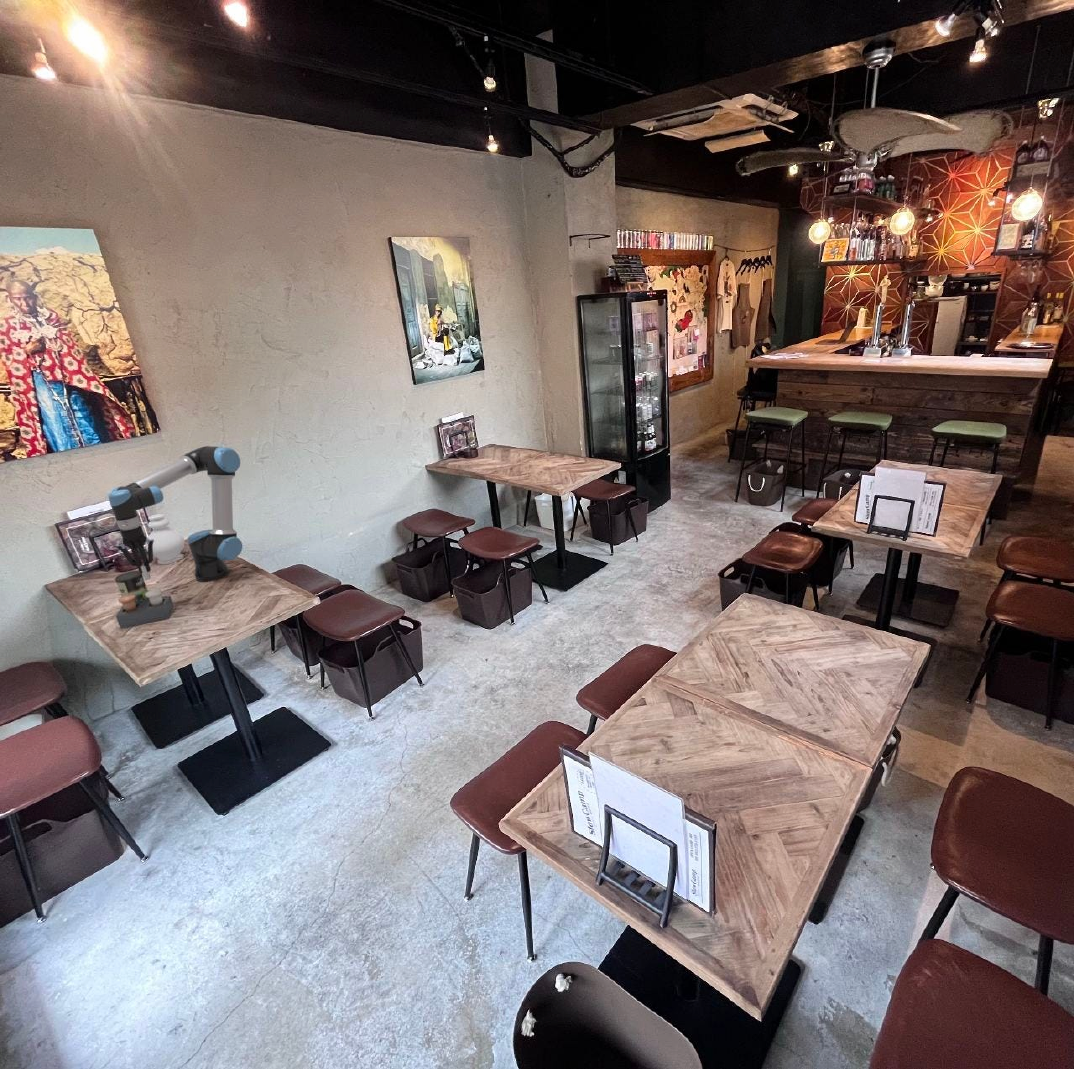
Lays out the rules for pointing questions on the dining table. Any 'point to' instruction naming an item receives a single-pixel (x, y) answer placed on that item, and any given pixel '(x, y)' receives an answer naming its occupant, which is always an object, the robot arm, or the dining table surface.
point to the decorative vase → (165, 540)
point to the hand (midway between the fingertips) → (148, 578)
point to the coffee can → (132, 585)
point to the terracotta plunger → (128, 602)
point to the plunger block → (145, 613)
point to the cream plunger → (154, 597)
